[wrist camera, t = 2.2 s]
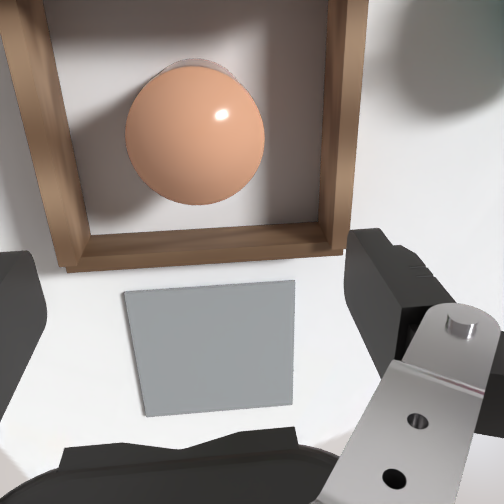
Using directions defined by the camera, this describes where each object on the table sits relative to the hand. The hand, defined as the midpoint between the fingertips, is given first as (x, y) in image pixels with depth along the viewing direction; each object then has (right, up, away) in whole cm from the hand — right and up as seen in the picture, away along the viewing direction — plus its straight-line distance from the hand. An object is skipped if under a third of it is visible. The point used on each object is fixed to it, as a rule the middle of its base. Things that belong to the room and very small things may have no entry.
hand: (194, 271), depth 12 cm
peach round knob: (-2, +9, +16) cm, 18 cm away
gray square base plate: (-1, -7, +24) cm, 25 cm away
